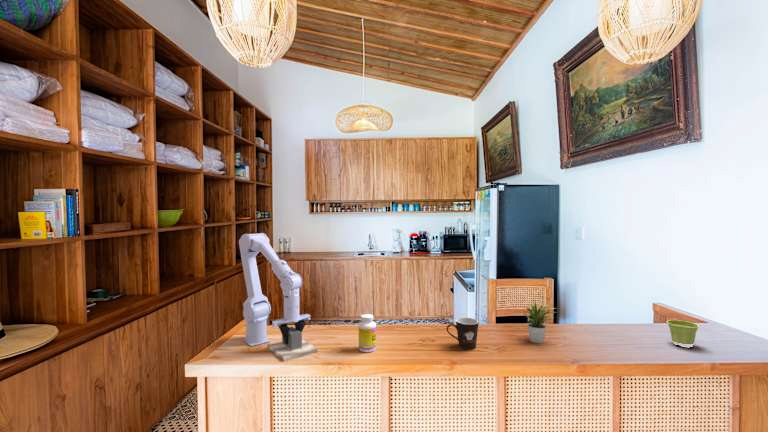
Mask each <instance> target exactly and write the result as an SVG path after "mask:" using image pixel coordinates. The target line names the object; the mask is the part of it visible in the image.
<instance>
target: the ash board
mask: <svg viewBox="0 0 768 432" xmlns="http://www.w3.org/2000/svg"><path fill="white" fill-rule="evenodd" d="M267 348H268V349H269V350H270V352H272V353H274V354H275V356H277V357H278V358H279V359H280V360H282V361H283V362H287V361H290V360H294V359H298V358H301V357H304V356H307V355H311V354H315V353H318V348H317V347H315V346H314V345H312V343H309V342H308V341H306V340H304V339H303V338H302V348H301V349H297V350H294V351H291V350H290V349H288V348H287V347H286V346H284V345H283V344H282V340H281V341H277V342H272V343H269V344H267Z"/></svg>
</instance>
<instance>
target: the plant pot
mask: <svg viewBox="0 0 768 432" xmlns="http://www.w3.org/2000/svg"><path fill="white" fill-rule="evenodd" d="M666 323H667V324H668V327H669V332H670V336H671V342H672V341H674V342H677V343H682V344H693V343H694V344H695V340H696V334H697V331H698V328H700V325H699V324H697V323H694V322H691V321H686V320H679V319H668V320H666Z"/></svg>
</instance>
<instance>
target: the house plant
mask: <svg viewBox="0 0 768 432" xmlns="http://www.w3.org/2000/svg"><path fill="white" fill-rule="evenodd" d="M544 304H545V302H542V303H541V305H540V306H539V308H538V306H537V303H536V300H535V299H534V301H531V304H529V306H530V307H531V308H530V307H528V306H527V304H523V305H524V306H525V309H526V310H527V313H528V314H529V315H528V314H527V313H523V312H522V313H521V315H522V316H525V317H526V318H527V322H526V323H527V324H526V326H527V330H528V337H529V341H530V342H531V343H535V344H543V343H544V341H545V337H546V336H545V335H546V331H547V326H546V325H545V324H543V323H544V322H546V323H548V324H550V321H549V320H552V321H553V320H554V319H553V318H552V316H548V314H554V313H555V314H556V313H558V312H557V311H554V309H557V307H555V308H554V307H553V308H548V309H547V307H549V305H550V303H549V304H546V305H544Z"/></svg>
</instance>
